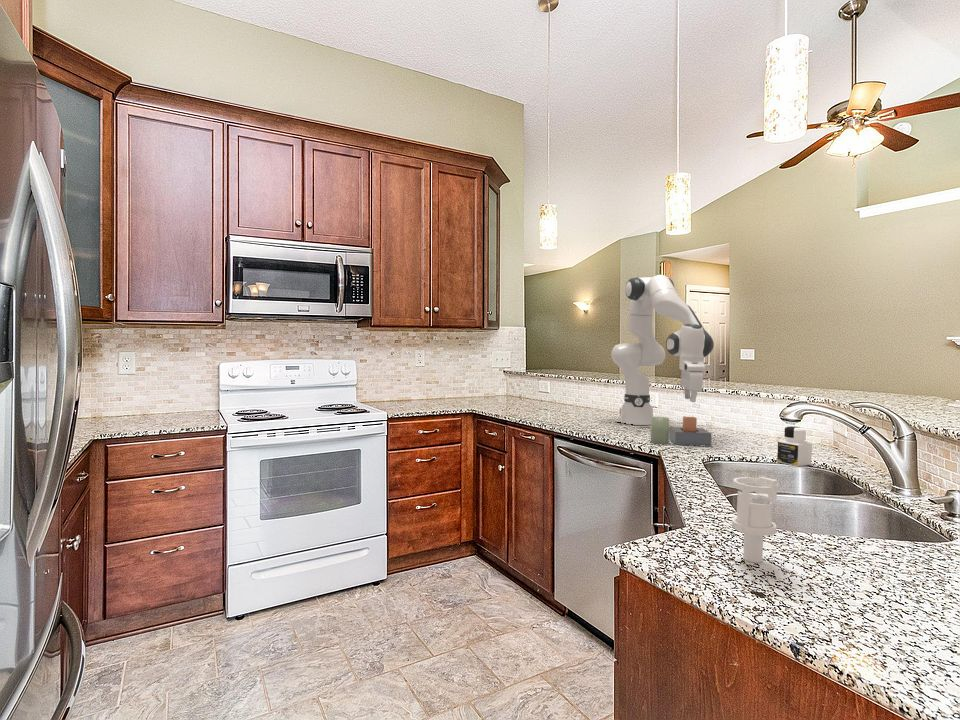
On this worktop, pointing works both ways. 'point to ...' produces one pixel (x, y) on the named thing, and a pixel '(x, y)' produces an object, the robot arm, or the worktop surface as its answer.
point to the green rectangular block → (659, 430)
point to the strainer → (755, 514)
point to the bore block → (689, 436)
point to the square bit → (689, 423)
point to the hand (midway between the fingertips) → (690, 400)
